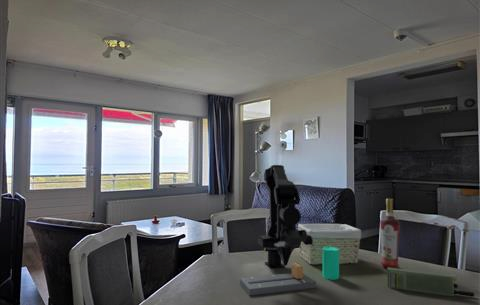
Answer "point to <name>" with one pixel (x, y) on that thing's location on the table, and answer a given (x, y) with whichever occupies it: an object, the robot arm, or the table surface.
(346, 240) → the storage basket
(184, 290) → the table surface
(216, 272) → the table surface
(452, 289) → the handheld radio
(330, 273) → the candle
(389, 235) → the liquor
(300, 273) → the fader knob
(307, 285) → the fader panel
